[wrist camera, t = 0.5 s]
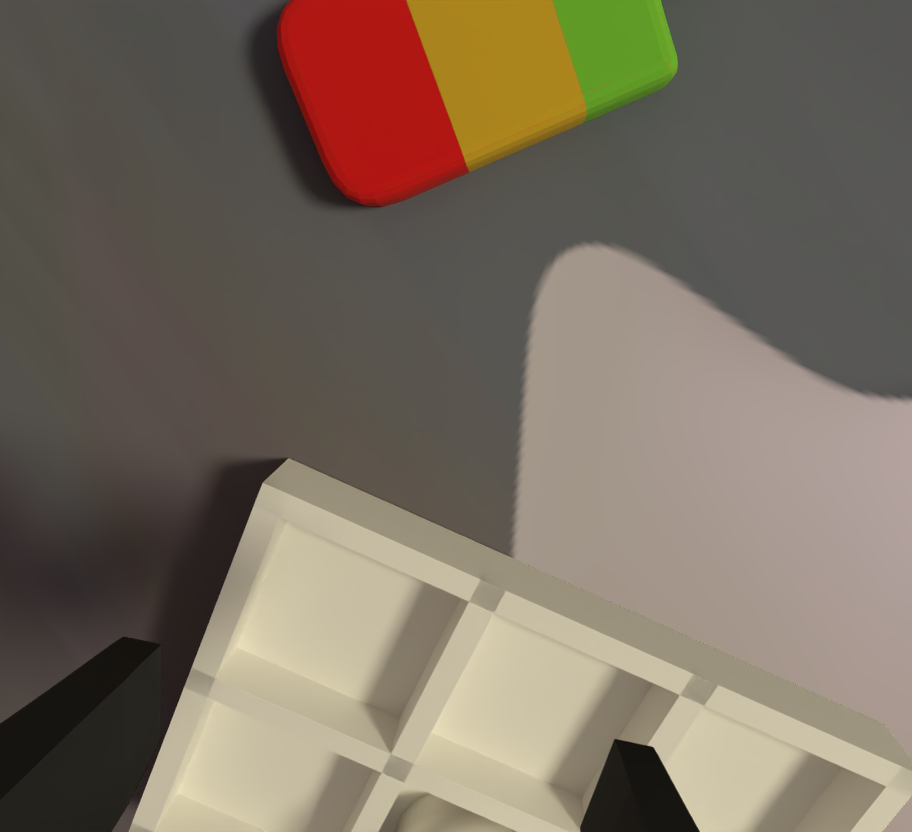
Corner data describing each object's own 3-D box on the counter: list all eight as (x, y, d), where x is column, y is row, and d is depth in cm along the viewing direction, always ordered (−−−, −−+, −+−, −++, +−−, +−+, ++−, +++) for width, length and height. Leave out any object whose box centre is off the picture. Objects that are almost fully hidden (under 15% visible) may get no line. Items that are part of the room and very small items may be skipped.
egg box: (667, 1004, 25) (682, 1075, 23) (159, 787, 24) (125, 839, 22) (884, 724, 21) (926, 777, 19) (288, 458, 20) (262, 482, 18)
